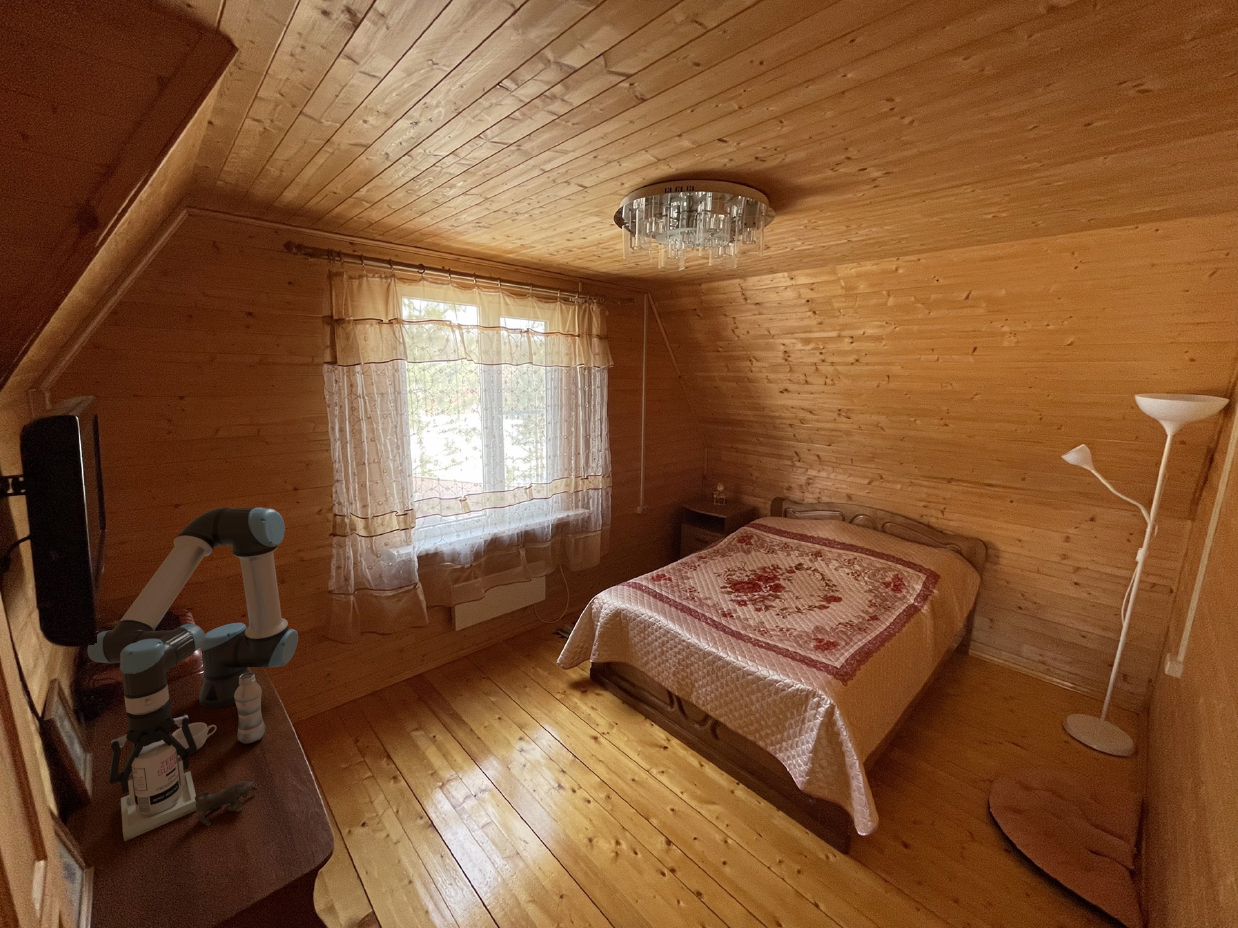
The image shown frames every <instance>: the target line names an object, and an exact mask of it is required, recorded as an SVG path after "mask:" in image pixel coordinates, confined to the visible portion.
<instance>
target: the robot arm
mask: <svg viewBox="0 0 1238 928" xmlns="http://www.w3.org/2000/svg"><path fill="white" fill-rule="evenodd" d="M285 533H286V525H285V522H284V518H283V516H282V515H281V514H280V512H278V511H277V510H275V509H273V508H264V507H259V506H258V507H226V506H225V507H216V508H213V509H210V510H208V511H206V512H204V513H202V514H201V515H199V516H197V517H196V518H194V519H193V520H191V521H190V522H189V523H188V524H186V526H185V527H183V528H182V530H181V531H180V532H178V534H177V536H176V537H175V538H174V540H173V548H172V550H171V551H170V552H169V553H168V555H167V556H166V557H165V559H164V560H163V561H162V563H161V564H160V565H159V567H158V569H157V570H156V571H155V573H154V574H153V575H152V577H151V578H150V579H149V581H148V582H146V583H147V584H145V586H144V587H143V589H142V590H141V592H140V593H139V594H138V596H137V597H136V599H135V600H134V601H133V602H132V604H131V605H130V606H129V608H128V609H127V611H126V612H125V613H124V615H123V616H122V617H121V619H120V620H119V621H118V623H117V624H116V625H115V627H114V628H113V629H111V630H110V629H109V630H103V631H101V632H99V633H97V634H96V635H97V643H95V644H94V645H89V644H88V646H87V655H88V658H89V659H90V661H92V662H94V663H101V664H102V663H103V664H104V663H105V664H112V665H113V664H115V663H119V664H120V665H119V670H120V673H121V679H122V686H123V694H124V696H123V698H124V703H125V704H124V705H125V710H126V721H127V729H128V730H127V731H126V734H124V735H122V736H119V737H112V738H111V739H110V748H111V750H112V754H111V762H110V769H109V774H108V775H109V776H108V781H109V783H108V784H111V785H113V784H115V783H118V782H119V783H120V786H121V787H120V788H121V792H122V794H126V793H129V794H128V795H130V802H131V806H132V805H135V796H134V788H133V780H132V774H131V771H132V763H133V761H134V759H135V758H137V757H138V755H139V753H140V752H141V750H142V748H143V746H144V747H145V746H148V745H150V744H152V743H155V742H159V741H161V740H163V741H164V742H165V743H167V744H168V745H169V746H170V745H171V744H172V746H173V747H175V748H176V753H177V754H178V765H179V774H180V783H181V786H182V785H184V784H185V780H184V773H185V772H184V771H185V770H188V769H189V768H190V762H189V756H190V755H192V754H195V753H197V752H198V750H197V746H196V743H195V741H194V738H193V736H192V734H191V731H190V729H189V726H188V725H189V724H190V722H189V721H190V719H189V715H188V713H184V714H182V715H181V716H179V717H176V718H174V717H173V716H172V710H171V702H170V700H169V699H170V692H169V685H168V684H169V682H168V676H167V675H168V673H167V672H169V670H171V669H173V668H175V666H177V665H178V664H179V663H181V662H183V661H184V660H185V659H187V658H189V657H190V656H192V655H193V654H195V653H196V651H198V650H199V649H200V651H201V658H202V665H203V666H202V667H203V676H204V677H203V682H202V686H201V689H200V692H199V695H198V696H199V697H198V700H199V705H200V706H201V707H202V708H205V709H221V708H226V707H230V706H233V705H236V703H235V699H234V694H235V691H236V690H237V688H238V687H239V686H240V685H239V677H240V676H241V675H242V674H245V673H253V672H252V670H251V669H250V668H269V669H271V668H277V667H280V668H281V667H283V666H285V665H287V664H288V663H289V662H290V661H291V659H292V658H293V656H294V655H295V652H296V650H297V647H298V643H299V633H298V631H297V630H295V629H293V628H289V623H288V620H287V619H285V618H283V617H282V610H281V603H280V602H281V601H280V595H279V587H278V580H277V578H278V577H277V572H276V571H277V570H276V565H275V564H276V563H275V554H274V553H275V552H276V551H277V549H278V548H279V545H280V544H281V543H282V542H283V540H284V537H285ZM221 546H226V547H227V546H228V547H229V546H230V547H231V549H232V555H233V556H234V557H235V558H238V559H239V561H240V567H241V568H240V569H241V576H242V582H243V588H244V595H245V602H246V610H247V615H248V623H249V626H248V627H247V625H246V624H245V623H243V622H233V623H227V624H224V625H221V626H219V627H216V628H215V627H214V629H211V630H209V631H207V632H206V633H205V632H204V630H203V629H202V628H201V627H200V626H199V625H197V624H194V623H185V624H183V625H180V626H177V627H176V628H174V629H173V630H156V628H157V627H158V625H159V624H160V623H161V621H162V619H164V617H165V615H166V613H167V612H168V610H169V609H170V608H171V606H172V605H173V603H174V602H175V601H176V599H177V597H178V596H179V594H180V593H181V591H183V588H184V587H185V585H186V584H187V583H188V581H189V580H190V579H191V577H192V575H193V573H194V572H195V571H196V569H197V567H198V566H199V565H200V564H201V562H202V560H203V559H204V557H208V556H209V555H211V554H212V552H213V551H215V550H214V549H216V548H218V547H221ZM256 679H257V678H255V681H254V682H256V683H257V684H258V682H257V680H256ZM174 725H177V726H176V727H178V728H182V731H183V734H184V736H185V739H186V741H187V743H188V746H189V747H188V748H187V749H185V748H184V747H183V746H182V745H181V744H180V743H179V742H178V741H177V740H176V739H175V738H174V737H173V736H172V733H171V732H170V731H171V730H172V728H173V726H174ZM127 741H130V742H131V743H133V745H132V749H131V750H130V752H129V754H128V757H127V759H126V761H125V764H124V765H123V767H122V770H121V771H120V772H119V768H120V767H119V766H120V760H121V754H122V753H121V752H122V750H121V749H122V748H123V747H124V746H125V744H126V743H125V742H127Z"/></svg>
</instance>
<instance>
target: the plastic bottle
mask: <svg viewBox="0 0 1238 928" xmlns="http://www.w3.org/2000/svg"><path fill="white" fill-rule="evenodd" d="M255 679H256V677H255V673H254V672H252V673H245V674H242V675H241V676H240V677H239V685H240V686H239V687H238V688H237V690H236V691H235V694H234V699H235V703H236V704H235V705H236V708H237V715H238V724H237V725H238V727H237V739H238V741H239V742H241V744H245V745H246V744H252V743H255V742H257V741H259V740H260V739H261V738H263V736H264V735H265V732H266V725H265V722H264V720H263V715H262V708H261V707H262V704H261V703H262V702H261V701H262V691H263V690H262V687H261V686H260V684H259V683H258V682H257V681H256V682H257V683H256V682H254V681H255Z"/></svg>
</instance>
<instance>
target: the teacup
mask: <svg viewBox="0 0 1238 928" xmlns="http://www.w3.org/2000/svg"><path fill="white" fill-rule="evenodd" d="M188 726H189V729H190V731H191V734H192V736H193V738H194V741H195V743H196V746H197V751H198V750H199V749H201V748H202V747H203V745H205V743H206V740H207V739H208V738H209V737H210V736H211V735H213V734H214V733H215V732H216V731H217V725H215V724H211V725H207V723H205V722H201V721H199V722H192V723H189V724H188ZM213 727H214V730H213V731H211V732H210V733H209V731H210V729H211V728H213ZM171 735H172V736H173V737H174V738H175V739H176V740H177V741H178V742H179V743H180V744H181V745H182V746H183V747H184V748H185V749H187V748H188V747H189V746H188V743H187V741H186V739H185V736H184V734H183V731H182V728H181V727H178V729H176V730H175V731H173V733H171Z"/></svg>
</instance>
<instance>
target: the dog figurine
mask: <svg viewBox="0 0 1238 928" xmlns="http://www.w3.org/2000/svg"><path fill="white" fill-rule="evenodd" d="M254 784H255V782H254V781H248V780H246V781H245V780H244V781H238V782H236V783H232V784H230V785H229V786H227V787H226V788H224V789H222V790H220V791H218V792H215V793H210V791H202V792H198V794H196V796H195V800H196V808H197V810H196V811H197V813H198V814H197V815H198V816H197V818H196V819H197V821H199V822H201V823H202V824H203V825H205V826H206V827H209V826H211V825H212V821H210V820H208V819H207V818H206V817H205V816H206V815H207V814H208V812H211V811H214V810H217V808H218V809H220V808H221V807H222V806H225V805H227V804H229V805H228V806H226V807H225V808H224V810H225V811H228V812H235V813H236V812H237V813H238V812H241V811H242V810H243V808H242V807H243V802H242V801H240V800H239V799H240V798H243V799H246V798H248V797H249V793H250V792H251V791H257V790H258V786H255V785H254ZM200 796H201V797H200Z"/></svg>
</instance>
